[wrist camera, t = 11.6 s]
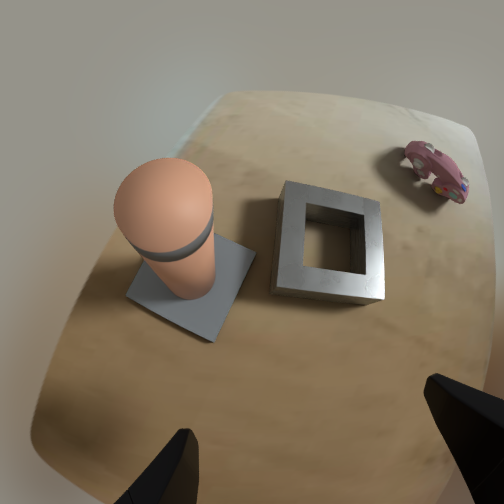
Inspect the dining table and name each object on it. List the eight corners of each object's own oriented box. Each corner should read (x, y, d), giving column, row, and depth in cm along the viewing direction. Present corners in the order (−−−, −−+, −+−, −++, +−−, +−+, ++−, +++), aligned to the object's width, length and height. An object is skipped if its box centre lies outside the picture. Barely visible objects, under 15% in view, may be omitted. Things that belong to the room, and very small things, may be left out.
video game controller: (392, 165, 31) (411, 149, 24) (406, 142, 30) (426, 123, 23) (444, 213, 30) (471, 208, 23) (457, 188, 29) (484, 179, 22)
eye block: (366, 305, 23) (384, 299, 20) (269, 293, 22) (276, 286, 19) (365, 215, 26) (379, 201, 23) (278, 197, 25) (285, 180, 22)
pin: (211, 303, 21) (201, 255, 9) (161, 295, 21) (100, 239, 9) (219, 254, 22) (221, 163, 11) (171, 247, 22) (131, 154, 11)
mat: (255, 254, 23) (256, 252, 23) (214, 342, 20) (213, 342, 20) (172, 216, 23) (171, 213, 23) (127, 296, 21) (125, 295, 20)
